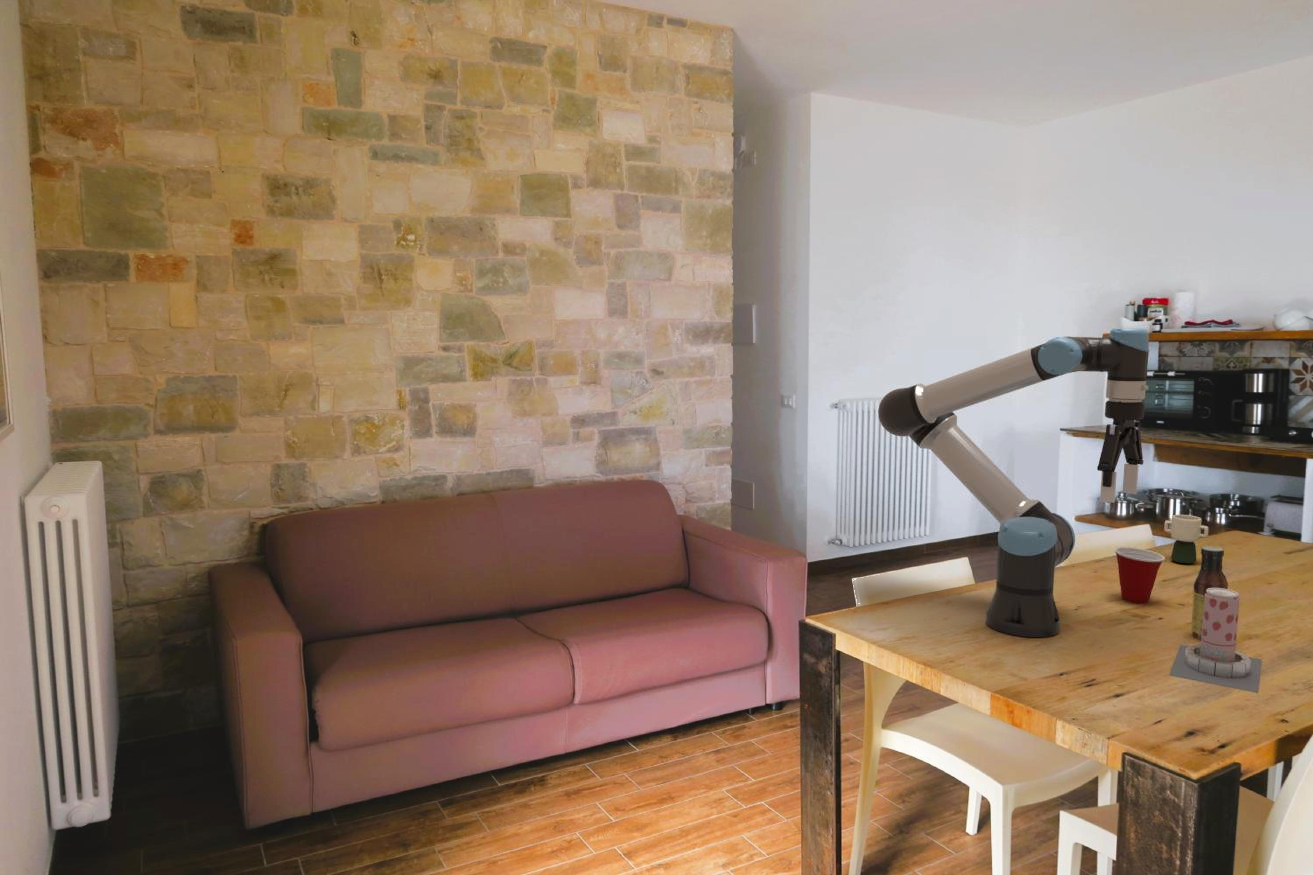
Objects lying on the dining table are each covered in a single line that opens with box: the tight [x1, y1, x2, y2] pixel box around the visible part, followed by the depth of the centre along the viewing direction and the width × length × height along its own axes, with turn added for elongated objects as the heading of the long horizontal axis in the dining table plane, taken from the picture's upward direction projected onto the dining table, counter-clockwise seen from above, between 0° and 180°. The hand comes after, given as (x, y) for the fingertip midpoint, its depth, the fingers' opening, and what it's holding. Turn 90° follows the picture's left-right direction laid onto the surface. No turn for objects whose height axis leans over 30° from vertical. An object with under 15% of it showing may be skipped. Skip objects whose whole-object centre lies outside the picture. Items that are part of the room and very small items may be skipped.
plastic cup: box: [1114, 546, 1166, 604], centre depth 216 cm, size 11×11×12 cm
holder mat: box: [1169, 644, 1263, 694], centre depth 173 cm, size 20×14×1 cm
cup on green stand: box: [1163, 514, 1209, 564], centre depth 250 cm, size 11×7×13 cm, turn 44°
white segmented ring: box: [1185, 644, 1251, 678], centre depth 173 cm, size 10×10×2 cm
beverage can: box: [1200, 588, 1240, 663], centre depth 172 cm, size 6×6×15 cm
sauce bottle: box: [1191, 545, 1229, 641], centre depth 188 cm, size 7×6×20 cm
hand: (1118, 497), depth 195 cm, fingers open, 13 cm apart
